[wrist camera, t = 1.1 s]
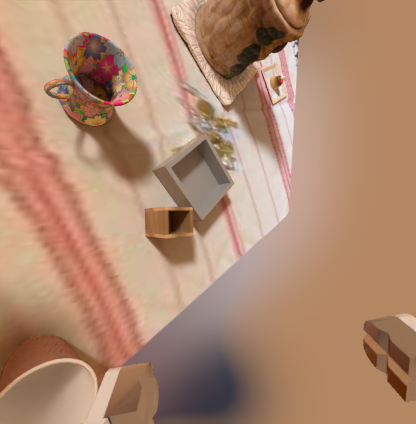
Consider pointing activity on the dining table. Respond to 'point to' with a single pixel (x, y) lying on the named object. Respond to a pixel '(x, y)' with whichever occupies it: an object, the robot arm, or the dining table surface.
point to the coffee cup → (46, 384)
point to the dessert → (275, 81)
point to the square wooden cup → (169, 222)
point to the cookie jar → (237, 36)
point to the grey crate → (195, 177)
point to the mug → (94, 79)
